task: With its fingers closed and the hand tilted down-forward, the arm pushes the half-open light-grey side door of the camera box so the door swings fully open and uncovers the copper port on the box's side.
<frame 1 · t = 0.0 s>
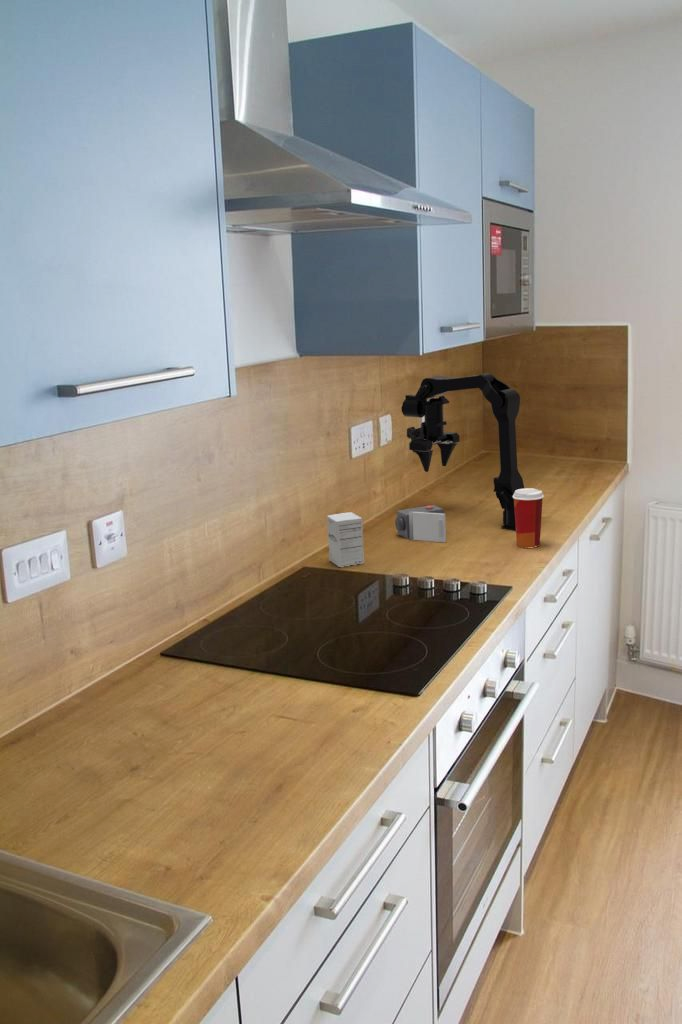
hand: (435, 468, 273), 15 cm above the worktop, tool pointing down, fingers open, 9 cm apart
supplement box: (346, 563, 234), on the worktop
camera box: (412, 539, 252), on the worktop
coffee cup: (528, 545, 240), on the worktop
side door: (426, 526, 249), point 4 cm above the worktop, hinge at 50.0°
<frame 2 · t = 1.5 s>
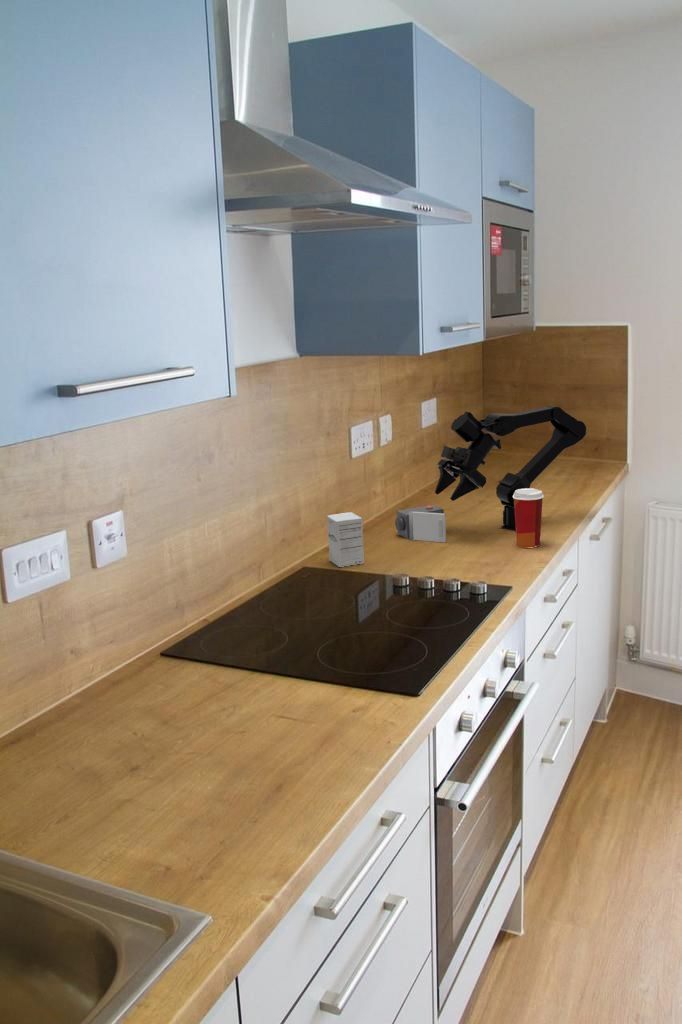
hand: (443, 496, 247), 12 cm above the worktop, tool tilted 45°, fingers open, 9 cm apart
nothing on the worktop moved.
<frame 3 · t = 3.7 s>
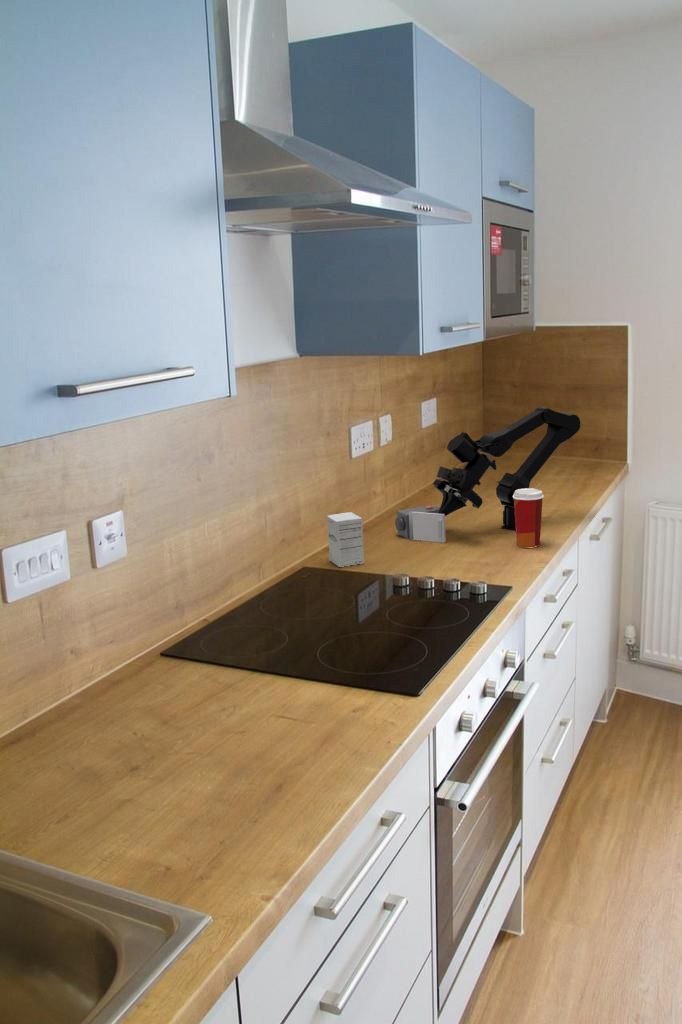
hand: (439, 517, 247), 7 cm above the worktop, tool tilted 45°, fingers closed
side door: (426, 527, 249), point 4 cm above the worktop, hinge at 52.2°, touching gripper
everything else where it was.
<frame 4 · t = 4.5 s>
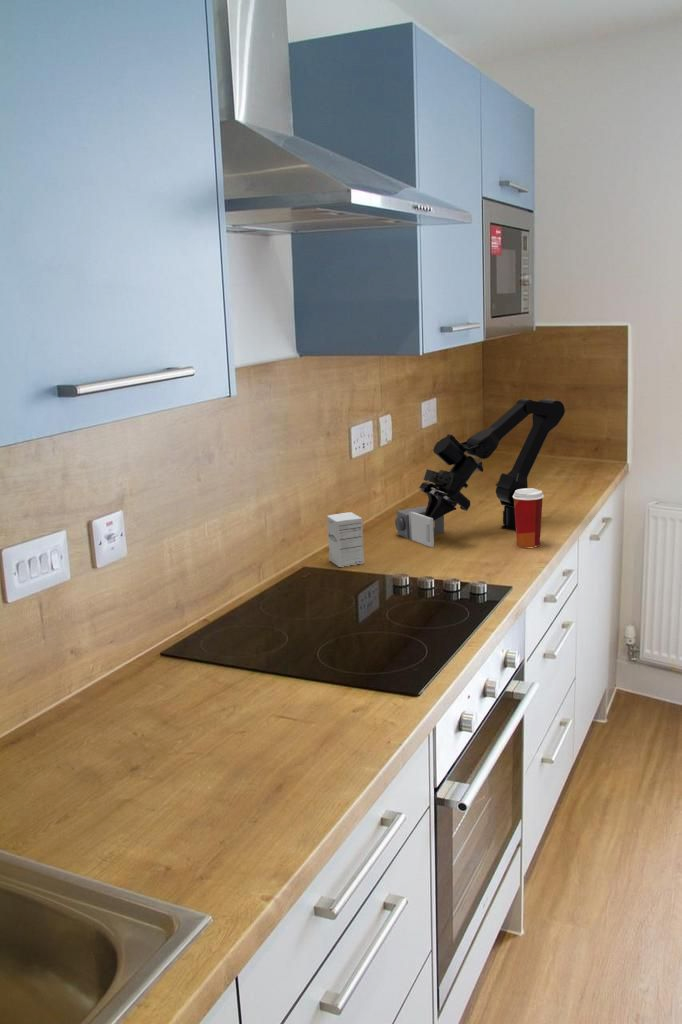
hand: (427, 520, 245), 7 cm above the worktop, tool tilted 45°, fingers closed, pressing on side door
side door: (420, 529, 247), point 4 cm above the worktop, hinge at 84.0°, touching gripper
everything else where it was.
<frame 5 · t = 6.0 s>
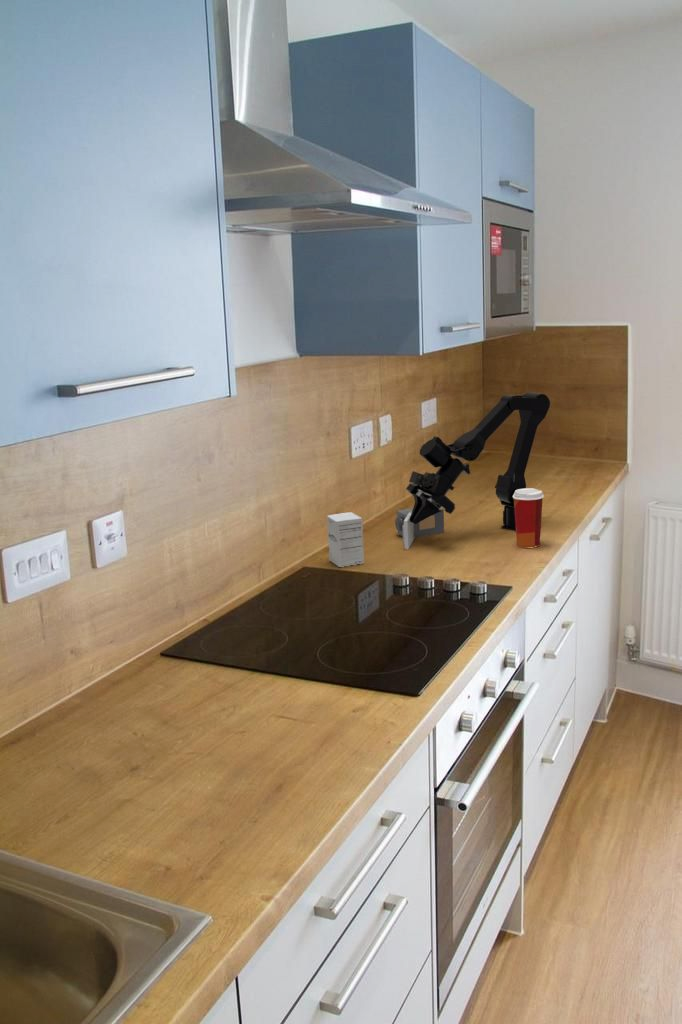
hand: (412, 522, 244), 7 cm above the worktop, tool tilted 45°, fingers closed
side door: (408, 530, 247), point 4 cm above the worktop, hinge at 126.4°, touching gripper
everything else where it was.
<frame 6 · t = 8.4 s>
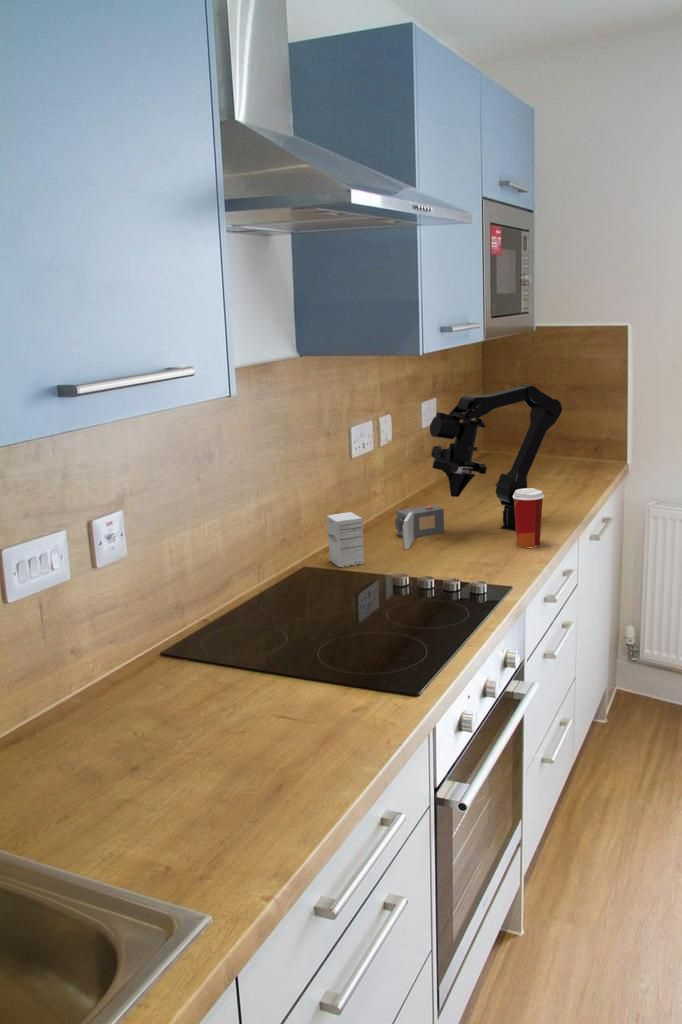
hand: (454, 496, 248), 12 cm above the worktop, tool pointing down, fingers closed
side door: (408, 530, 247), point 4 cm above the worktop, hinge at 126.5°
everything else where it was.
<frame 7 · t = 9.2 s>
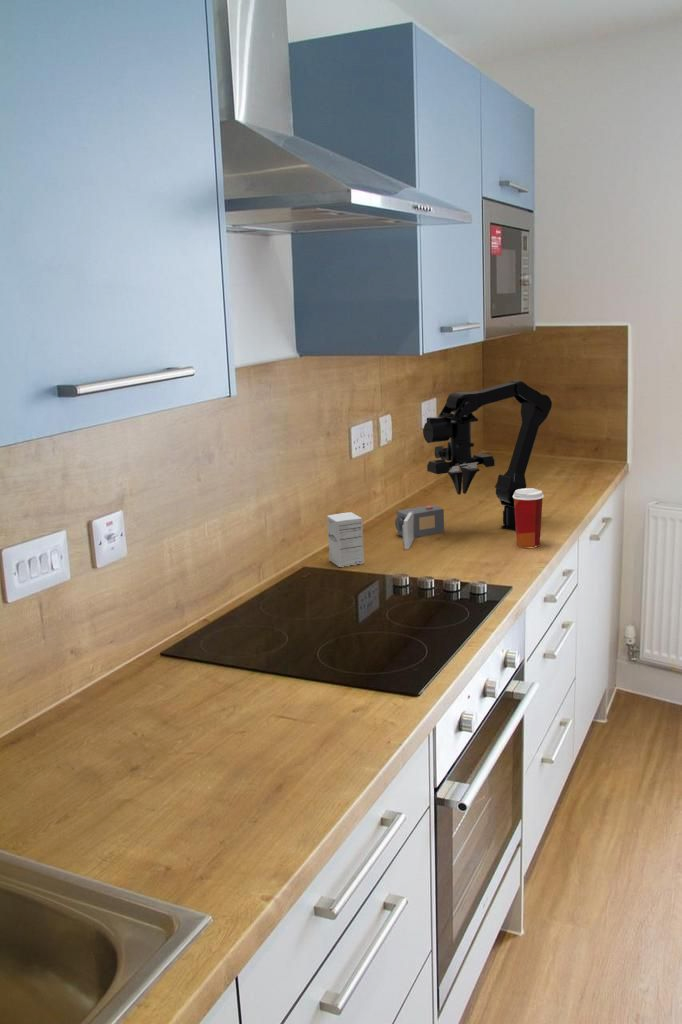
hand: (461, 493, 248), 13 cm above the worktop, tool pointing down, fingers closed
nothing on the worktop moved.
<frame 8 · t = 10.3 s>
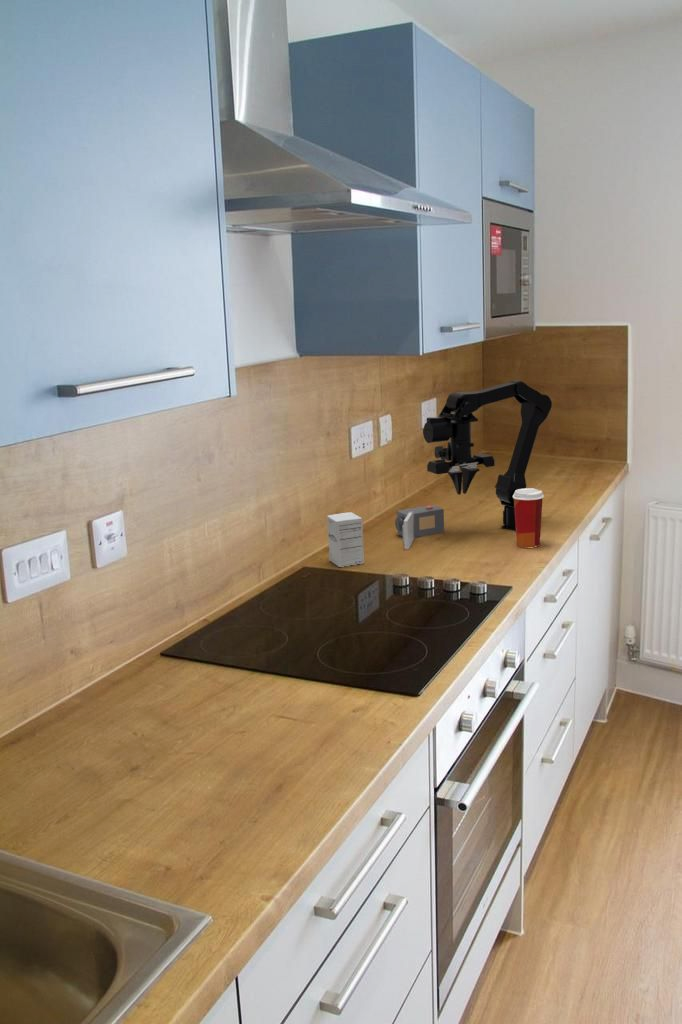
hand: (461, 493, 248), 12 cm above the worktop, tool pointing down, fingers closed
nothing on the worktop moved.
at the end: side door at +126° (first picture: +50°) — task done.
